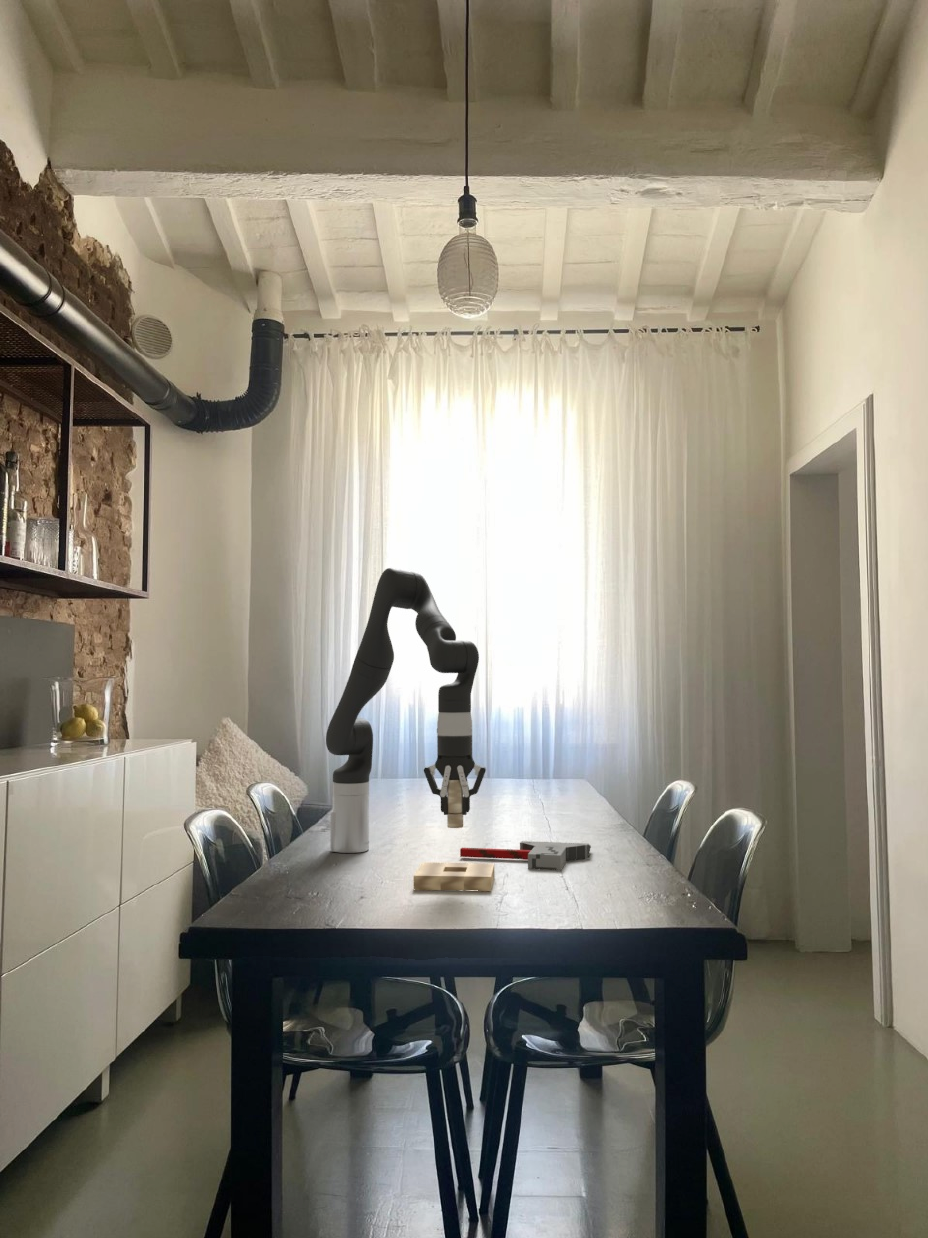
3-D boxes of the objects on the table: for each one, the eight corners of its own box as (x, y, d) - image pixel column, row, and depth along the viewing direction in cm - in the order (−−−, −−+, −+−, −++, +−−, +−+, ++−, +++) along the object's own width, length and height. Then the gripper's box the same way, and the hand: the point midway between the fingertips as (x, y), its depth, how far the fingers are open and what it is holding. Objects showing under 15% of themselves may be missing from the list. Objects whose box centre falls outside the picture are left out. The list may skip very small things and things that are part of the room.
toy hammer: (473, 834, 247) (590, 838, 240) (473, 849, 247) (590, 854, 240) (452, 851, 223) (581, 856, 217) (452, 867, 223) (581, 873, 217)
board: (413, 890, 198) (413, 875, 198) (422, 876, 212) (422, 862, 212) (491, 891, 196) (491, 876, 196) (494, 877, 210) (494, 863, 210)
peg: (446, 828, 203) (446, 780, 204) (448, 825, 206) (447, 778, 207) (462, 828, 203) (462, 780, 203) (464, 825, 206) (463, 778, 207)
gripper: (488, 732, 209) (489, 812, 208) (424, 732, 210) (424, 812, 209) (486, 734, 202) (487, 817, 200) (419, 734, 203) (420, 817, 202)
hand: (455, 814), depth 205 cm, fingers closed on peg, 3 cm apart
